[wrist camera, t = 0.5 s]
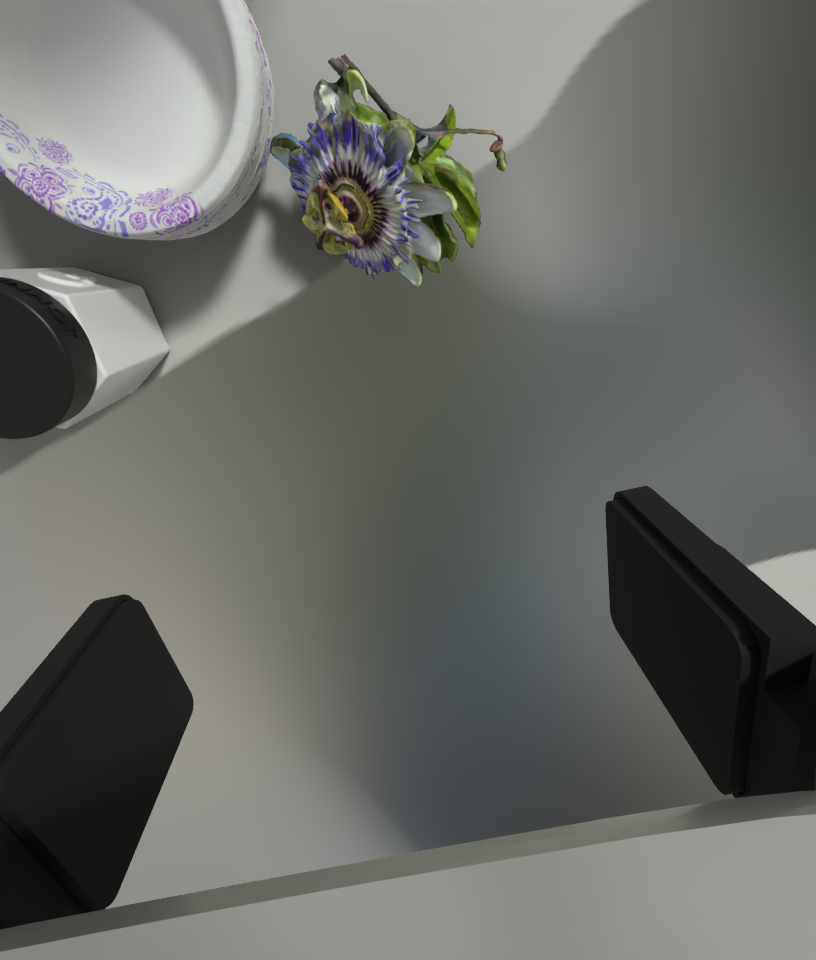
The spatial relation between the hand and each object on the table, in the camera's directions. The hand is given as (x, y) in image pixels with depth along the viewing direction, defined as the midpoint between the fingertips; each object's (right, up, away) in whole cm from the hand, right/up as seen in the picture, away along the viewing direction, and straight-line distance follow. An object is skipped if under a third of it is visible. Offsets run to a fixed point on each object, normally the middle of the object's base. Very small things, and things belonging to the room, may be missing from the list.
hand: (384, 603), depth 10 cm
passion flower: (-1, +22, +23) cm, 32 cm away
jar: (-21, +13, +26) cm, 36 cm away
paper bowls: (-15, +26, +21) cm, 36 cm away
